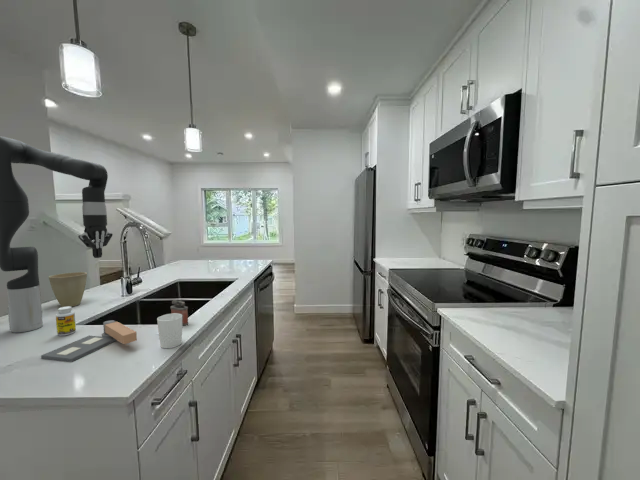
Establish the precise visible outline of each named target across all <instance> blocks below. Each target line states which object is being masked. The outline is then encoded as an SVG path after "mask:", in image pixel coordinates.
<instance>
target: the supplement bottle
mask: <svg viewBox="0 0 640 480" xmlns="http://www.w3.org/2000/svg"><path fill="white" fill-rule="evenodd" d="M72 307H73V306H72ZM72 307H71V306H67V307H61V306H60V307H59V308H58V309H57V313H56V314H55V324H56V325H55V326H56V335H57V336H59V337H60V336H61V337H62V336H69V335H72V334H74V333H75V332H76V330H77V329H76V326H77V325H76V315H75V311H74V310H73V309H72Z"/></svg>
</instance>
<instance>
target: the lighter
mask: <svg viewBox="0 0 640 480" xmlns="http://www.w3.org/2000/svg"><path fill="white" fill-rule="evenodd" d="M171 304H172V305H171V306H170V310H171V311H170V312H171V313H170V314H173V313H178V314H182V327H187V326H189V325H188V324H189V315H188V309H189V306H186V303H185V301H183V300H171ZM186 325H187V326H186Z"/></svg>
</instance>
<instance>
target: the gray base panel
mask: <svg viewBox="0 0 640 480" xmlns="http://www.w3.org/2000/svg"><path fill="white" fill-rule="evenodd" d="M114 342H117V340H116V339H115V338H113V337H111V336H110V335H108V334H104V332H103V333H101V336H99V335H87V336H84V337H82V338H80V339H77V340H74V341H72V342H70V343H67V344H65V345H63V346H61V347H58V348H56V349H53V350H51V351H48V352H46V353H43V354H41V355H40V359H42V360H44V359H45V360H52V361H61V362H70V363H73V362H74V361H75V362H76V360H79V359H80V358H83V357H86V356H87V355H89V354H91V353H93V352H95V351H97V350H100V349H102V348H104V347H107V346H108V345H110V344H112V343H114Z"/></svg>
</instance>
